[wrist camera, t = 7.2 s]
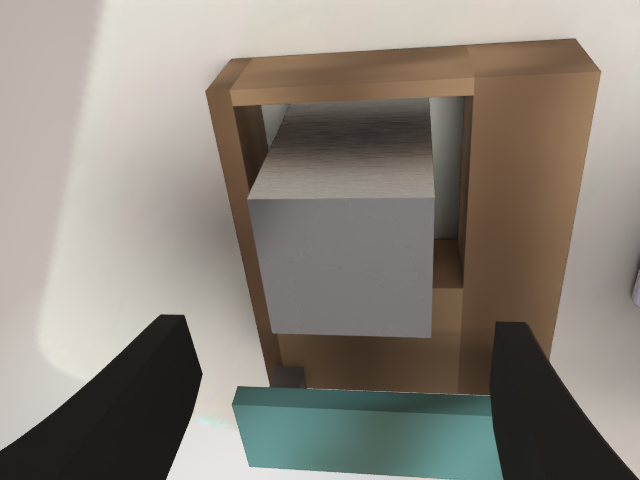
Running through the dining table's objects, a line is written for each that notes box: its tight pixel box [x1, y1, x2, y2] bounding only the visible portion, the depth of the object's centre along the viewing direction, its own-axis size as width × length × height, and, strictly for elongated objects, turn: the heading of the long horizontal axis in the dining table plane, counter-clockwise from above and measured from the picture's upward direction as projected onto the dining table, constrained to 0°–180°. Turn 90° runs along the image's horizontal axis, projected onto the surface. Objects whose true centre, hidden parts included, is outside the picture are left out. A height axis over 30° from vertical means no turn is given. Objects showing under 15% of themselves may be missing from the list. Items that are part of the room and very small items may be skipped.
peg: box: [247, 97, 435, 338], centre depth 18 cm, size 5×5×7 cm
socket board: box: [205, 39, 601, 480], centre depth 19 cm, size 11×13×7 cm
